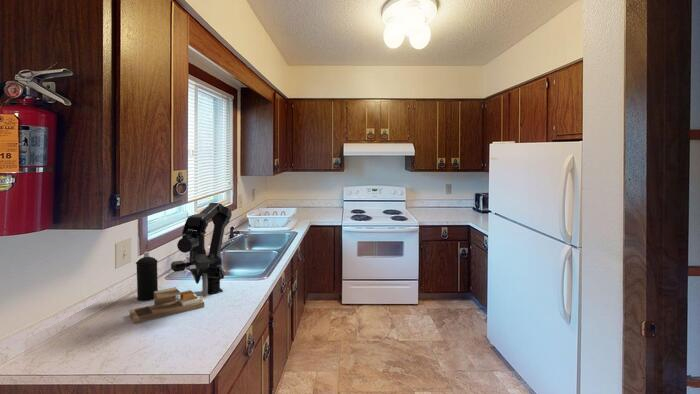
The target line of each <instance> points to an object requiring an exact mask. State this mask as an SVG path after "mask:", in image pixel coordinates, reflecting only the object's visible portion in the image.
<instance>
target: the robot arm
mask: <svg viewBox="0 0 700 394" xmlns="http://www.w3.org/2000/svg"><path fill="white" fill-rule="evenodd" d="M232 213H233V212H232V211H231V210H230V209H229V207H227V206H224V205H223V204H222V203H220V202H210V203H209V204H208V205H207V206H206V207H205V208H204V209H203V210H201V211H200V212H198V213H196V214H191V215H190V216H188V217H187V219H186V220H185V223H184V226H183V228H182V229H183V230H182V233H181V236H182V237H181V238H180V239H179V240H178V242H177V245H176V246H177V250H179V251H180V253H185V254H187V253H189V257H188V262H187V261H185V262H184V261H183V260H182V259H181V260H175V261H174V260H173V261H172V262H171V264H170V269H171V270H172V271H174V272H178V273H179V272H183V271H185V270H186V269H187V270H188V271H189V272H190V273H191V275H192V277H193V280H194V281H195V284H197V285H198V284H199V282H200V281H201V279H202V274H203V273H207V288H208V295H212V294H217V293H221V292H223V291H224V289H222V288H221V280H223V279H225V273H226V272H225V270H224V269H223V268H222V265H223V259H222V257H220V255H221V251H222V246H223V245H222V244H223V241H224V240H223V239H224V233H225V229H226V227H227V226H228V225H229V223H230V221H231V218H232ZM210 220H211V221H212V223H213V231H212V233H211V234H212V235H211V236H212V237H211V241H210V246H209V251H208V254H207V252H206V249H205V248H206V246H205V245H206V244H205V235H206V233H207V231H206V230H207V228H208V226H209V221H210Z"/></svg>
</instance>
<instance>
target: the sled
mask: <svg viewBox="0 0 700 394" xmlns="http://www.w3.org/2000/svg"><path fill="white" fill-rule="evenodd" d="M201 281H202V282H201V283H202V284H201V285H202V286H201V287H202V295H197V294H196V293H194V300H190V301H185V302H184V301H183V300H182V299H181V298H180V296H179V297H177V300H178V301H179V302H180V303H181V304H182V305H183V306H185V305H189V304H194V303H198V302H200V300H202V301H203V300H207V299H209V294H208V288H207V273H203V274H202V275H201ZM196 295H197V296H198V297H197V296H196Z"/></svg>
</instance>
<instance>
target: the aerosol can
mask: <svg viewBox="0 0 700 394" xmlns="http://www.w3.org/2000/svg"><path fill="white" fill-rule="evenodd" d="M158 262H159V261H158V259H156V258H155V257H153V256H150V251H145V252H143V257H141V258H139V259H138V260H137V261H136V262H135V265H136V287H137V288H136V291H137V292H136V293H137V297H136V300H138V301H139V302H148V301H152V300H153V301H154V291H159V285H158Z"/></svg>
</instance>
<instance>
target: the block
mask: <svg viewBox="0 0 700 394" xmlns="http://www.w3.org/2000/svg"><path fill="white" fill-rule="evenodd" d="M180 292H181V294H180V295H179V297H180V298H181V299H182V300H183V301H184V302H185V301H190V300H194V294H195V293H194V292H193V291H192V290H190V289H189V290H185V291H180Z"/></svg>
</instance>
